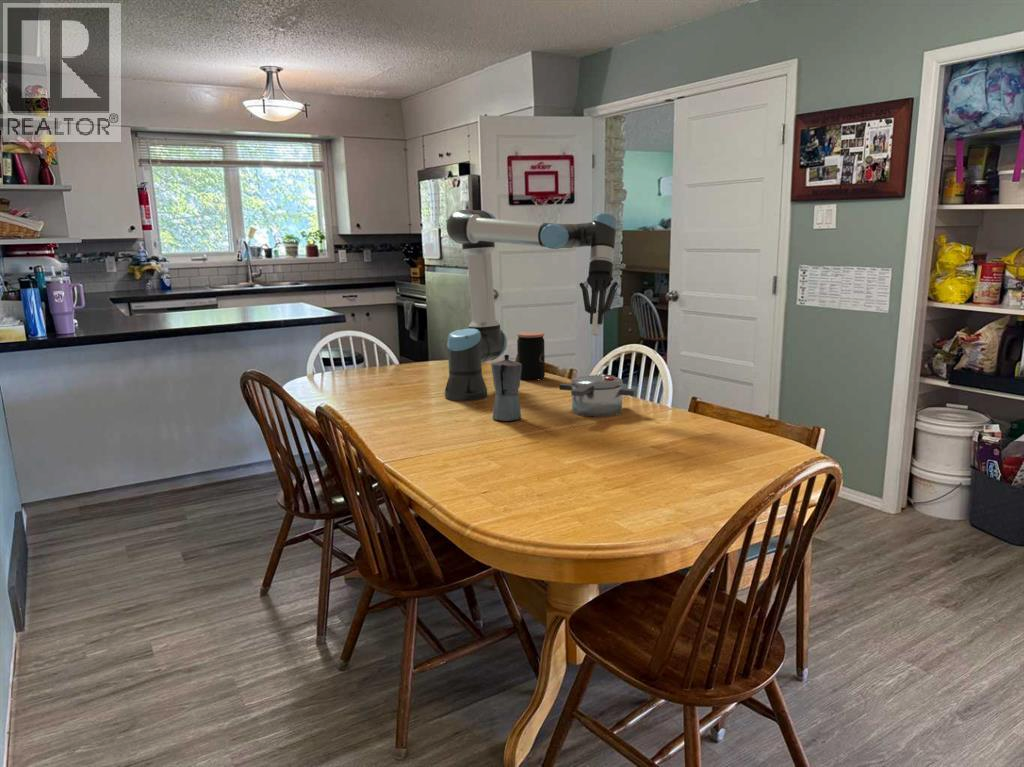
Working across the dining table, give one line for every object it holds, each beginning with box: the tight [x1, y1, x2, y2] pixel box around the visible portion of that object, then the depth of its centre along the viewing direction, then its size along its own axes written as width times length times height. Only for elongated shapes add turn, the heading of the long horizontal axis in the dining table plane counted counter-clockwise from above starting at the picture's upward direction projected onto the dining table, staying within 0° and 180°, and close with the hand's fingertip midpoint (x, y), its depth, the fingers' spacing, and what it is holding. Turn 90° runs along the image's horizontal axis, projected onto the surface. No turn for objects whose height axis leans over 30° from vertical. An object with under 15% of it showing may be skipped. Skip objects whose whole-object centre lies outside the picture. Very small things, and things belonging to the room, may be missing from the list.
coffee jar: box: [516, 331, 546, 381], centre depth 274 cm, size 11×11×18 cm
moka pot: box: [490, 354, 522, 422], centre depth 213 cm, size 10×15×20 cm, turn 174°
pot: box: [558, 382, 637, 418], centre depth 223 cm, size 25×18×9 cm
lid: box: [570, 373, 623, 396], centre depth 218 cm, size 16×26×2 cm, turn 153°
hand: (595, 334), depth 219 cm, fingers closed
